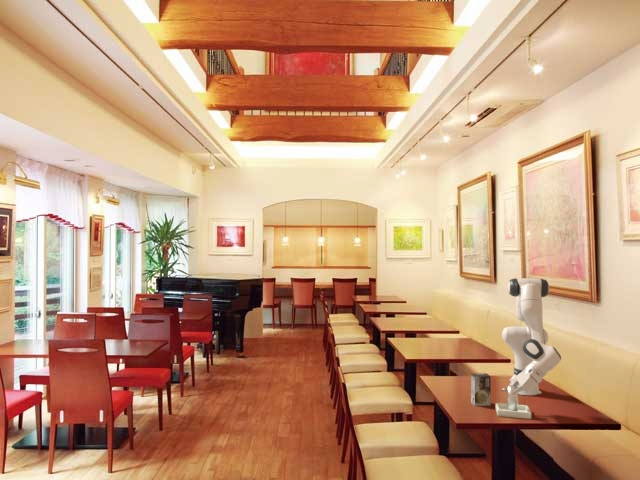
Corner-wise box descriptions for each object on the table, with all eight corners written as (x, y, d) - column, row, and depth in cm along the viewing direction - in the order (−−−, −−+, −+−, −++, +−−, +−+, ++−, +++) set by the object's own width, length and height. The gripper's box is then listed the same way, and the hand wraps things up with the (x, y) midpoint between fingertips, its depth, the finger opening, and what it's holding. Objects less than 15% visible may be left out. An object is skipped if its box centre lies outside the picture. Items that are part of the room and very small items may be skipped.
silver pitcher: (500, 409, 266) (500, 384, 266) (517, 410, 264) (517, 385, 264) (501, 412, 261) (501, 387, 261) (518, 413, 259) (518, 388, 259)
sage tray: (495, 408, 270) (495, 402, 270) (527, 411, 266) (527, 405, 266) (497, 416, 257) (497, 410, 257) (531, 419, 253) (531, 413, 254)
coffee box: (486, 402, 281) (486, 373, 281) (491, 405, 274) (491, 376, 275) (470, 402, 280) (470, 373, 281) (474, 405, 274) (474, 376, 274)
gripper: (526, 363, 270) (506, 380, 273) (532, 372, 250) (511, 390, 253) (535, 372, 269) (515, 389, 271) (542, 382, 249) (521, 400, 252)
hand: (513, 390), depth 262 cm, fingers open, 8 cm apart
